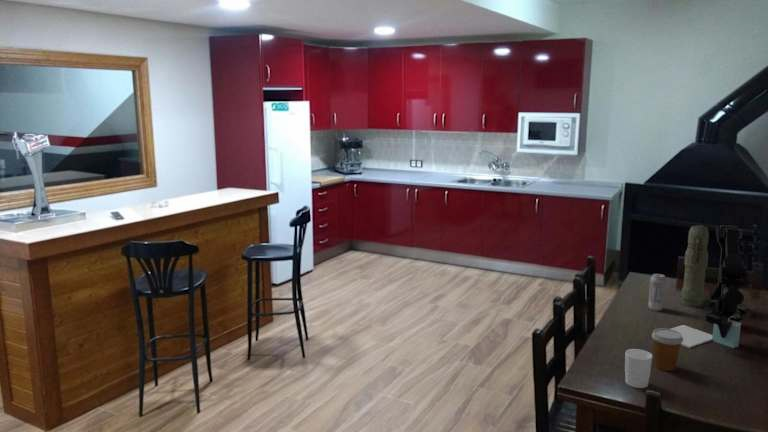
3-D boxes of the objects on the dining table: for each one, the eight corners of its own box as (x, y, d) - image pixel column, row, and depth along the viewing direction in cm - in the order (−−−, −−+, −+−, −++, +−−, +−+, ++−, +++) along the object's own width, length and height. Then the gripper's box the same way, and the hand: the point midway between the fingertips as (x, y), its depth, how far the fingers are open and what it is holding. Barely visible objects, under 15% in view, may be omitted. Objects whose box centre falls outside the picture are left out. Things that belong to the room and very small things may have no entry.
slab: (716, 338, 216) (719, 316, 214) (738, 346, 209) (741, 323, 208) (711, 340, 215) (714, 317, 213) (733, 348, 208) (736, 324, 206)
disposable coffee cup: (644, 360, 199) (647, 327, 197) (672, 360, 199) (675, 327, 196) (656, 373, 190) (659, 339, 187) (685, 373, 189) (689, 339, 187)
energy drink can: (666, 309, 247) (669, 275, 244) (658, 312, 244) (661, 278, 241) (653, 305, 252) (655, 272, 249) (645, 308, 248) (647, 275, 246)
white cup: (618, 378, 187) (620, 349, 185) (641, 376, 187) (644, 348, 185) (630, 389, 179) (633, 360, 177) (655, 388, 180) (657, 358, 178)
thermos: (702, 301, 256) (710, 224, 250) (704, 309, 246) (712, 229, 239) (680, 298, 260) (687, 222, 254) (680, 306, 250) (688, 228, 243)
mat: (682, 326, 228) (683, 324, 228) (717, 338, 216) (717, 336, 216) (655, 334, 220) (655, 333, 220) (689, 348, 208) (689, 346, 208)
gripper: (723, 286, 220) (719, 324, 223) (693, 294, 211) (689, 334, 214) (753, 294, 210) (748, 334, 213) (723, 303, 201) (718, 345, 204)
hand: (725, 336), depth 212 cm, fingers closed on slab, 3 cm apart
